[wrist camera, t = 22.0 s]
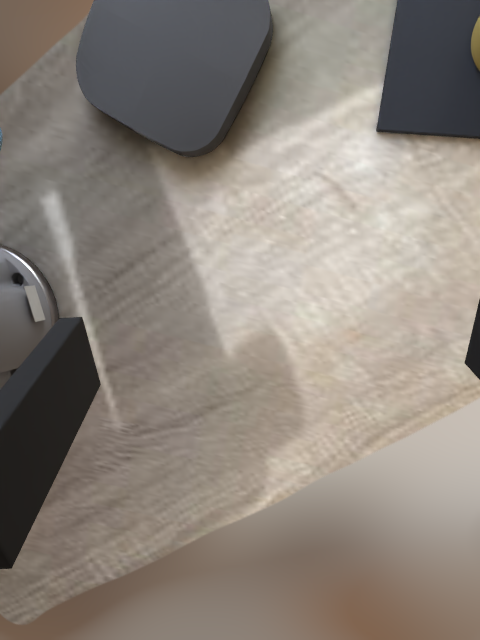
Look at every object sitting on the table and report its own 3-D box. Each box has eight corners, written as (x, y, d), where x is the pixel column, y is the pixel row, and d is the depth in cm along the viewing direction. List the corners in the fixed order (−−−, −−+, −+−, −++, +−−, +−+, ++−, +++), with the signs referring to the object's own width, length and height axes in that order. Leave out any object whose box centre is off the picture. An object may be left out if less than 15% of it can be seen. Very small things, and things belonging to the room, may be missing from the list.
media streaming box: (290, 11, 34) (288, -12, 31) (209, 173, 37) (200, 166, 34) (143, -65, 35) (127, -95, 32) (76, 99, 38) (57, 86, 35)
